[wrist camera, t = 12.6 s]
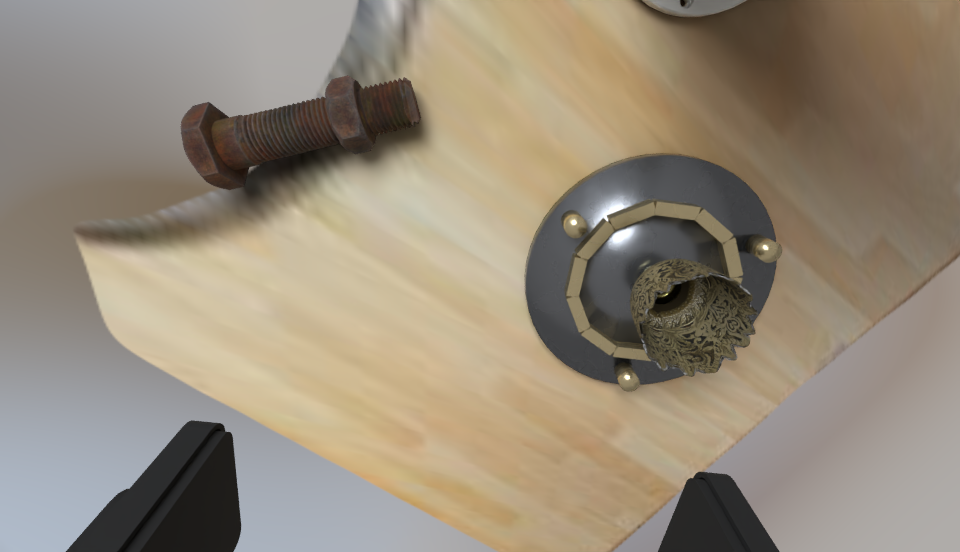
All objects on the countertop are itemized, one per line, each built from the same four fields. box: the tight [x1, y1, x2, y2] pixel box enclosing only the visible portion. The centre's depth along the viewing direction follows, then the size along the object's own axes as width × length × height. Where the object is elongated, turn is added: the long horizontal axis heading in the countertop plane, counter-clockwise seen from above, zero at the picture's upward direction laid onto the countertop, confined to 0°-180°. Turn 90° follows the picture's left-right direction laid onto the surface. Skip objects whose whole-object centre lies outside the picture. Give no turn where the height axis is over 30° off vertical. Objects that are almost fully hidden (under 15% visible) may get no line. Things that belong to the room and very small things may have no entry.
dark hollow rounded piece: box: [630, 259, 758, 377], centre depth 33 cm, size 8×7×8 cm
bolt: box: [181, 76, 421, 190], centre depth 32 cm, size 6×5×15 cm
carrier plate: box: [525, 153, 782, 391], centre depth 37 cm, size 20×20×3 cm
